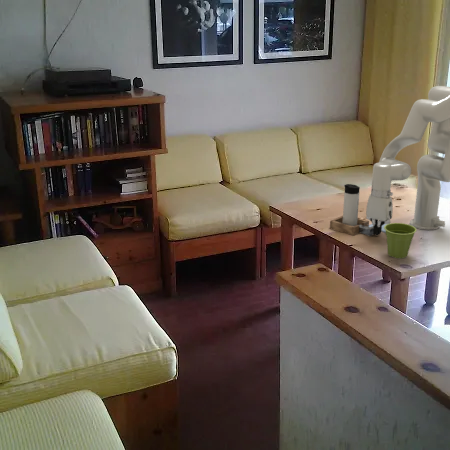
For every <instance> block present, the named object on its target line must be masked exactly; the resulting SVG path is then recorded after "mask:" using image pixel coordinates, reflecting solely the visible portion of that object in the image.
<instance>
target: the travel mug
mask: <svg viewBox="0 0 450 450" xmlns="http://www.w3.org/2000/svg"><path fill="white" fill-rule="evenodd" d="M360 189H361V188H360V186H358V185H356V184H353V183H345V184H344V195H343V208H342V209H343V211H342V216H343V224H347V225H351V226H356V225H357V219H358V217H359V216H358V215H359V203H360Z"/></svg>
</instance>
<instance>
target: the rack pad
mask: <svg viewBox="0 0 450 450" xmlns="http://www.w3.org/2000/svg"><path fill="white" fill-rule="evenodd" d="M385 225H387V224H384V225H382V230H381V233H384V234H386V230H385V229H384V226H385ZM372 226H373V225H372V223H371V224H369V227H372Z"/></svg>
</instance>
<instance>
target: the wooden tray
mask: <svg viewBox="0 0 450 450" xmlns="http://www.w3.org/2000/svg"><path fill="white" fill-rule="evenodd" d="M360 225H364V226H367V227H369V225H370V220H368V219H367V220H366V219H362V218H360V217H359V218H358V219H357V225H356V226H351V225H347V224H343V215H341V216H339V217H336V218H334V219H332V220H330V221H329V229H331V230H334V231H338V232H341V233H345V234H347V233H348V235H351V236H356V235H358V234H360V233H359V226H360Z"/></svg>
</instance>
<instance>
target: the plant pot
mask: <svg viewBox="0 0 450 450" xmlns="http://www.w3.org/2000/svg"><path fill="white" fill-rule="evenodd" d="M384 229H385V230H386V233H385V236H386V245H387V254H388V256H389V257H390V258H395V259H405V258H407V257H408V254H409V251H410V247H411V244H412V240H413V238H414V235H415V234H416V232H417V228H415V227H413V226H411V225H410V224H408V223H403V222H393V223H391V222H390V224H387V225H385V226H384Z"/></svg>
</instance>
